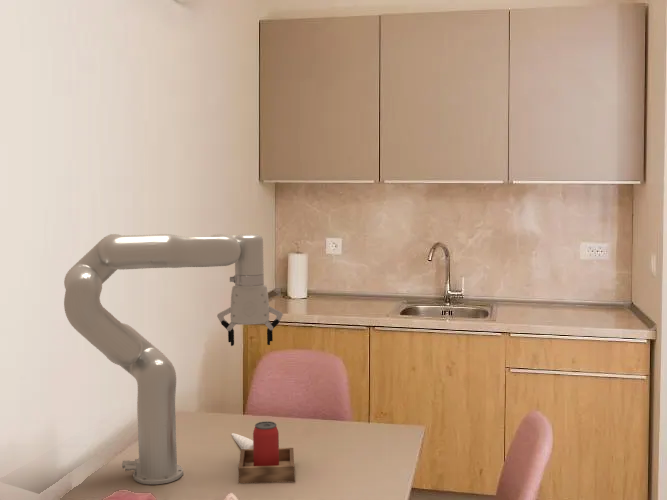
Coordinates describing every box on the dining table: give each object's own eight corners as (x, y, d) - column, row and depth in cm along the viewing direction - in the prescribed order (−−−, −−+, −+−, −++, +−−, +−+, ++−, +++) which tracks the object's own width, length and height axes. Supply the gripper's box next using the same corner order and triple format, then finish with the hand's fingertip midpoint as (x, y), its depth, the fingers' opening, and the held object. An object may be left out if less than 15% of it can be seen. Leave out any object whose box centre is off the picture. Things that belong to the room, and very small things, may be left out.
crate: (238, 483, 199) (238, 468, 199) (241, 463, 213) (241, 449, 213) (294, 481, 200) (294, 466, 200) (293, 462, 214) (293, 447, 214)
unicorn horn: (243, 434, 239) (243, 418, 239) (264, 460, 217) (264, 443, 217) (228, 435, 238) (228, 420, 237) (247, 462, 216) (247, 445, 215)
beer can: (284, 467, 208) (283, 423, 207) (268, 476, 202) (268, 430, 201) (264, 463, 211) (263, 419, 210) (248, 471, 206) (247, 425, 205)
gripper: (215, 283, 206) (216, 348, 207) (282, 282, 207) (283, 346, 208) (217, 279, 213) (219, 342, 215) (282, 278, 214) (283, 340, 216)
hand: (250, 344), depth 212 cm, fingers open, 9 cm apart
